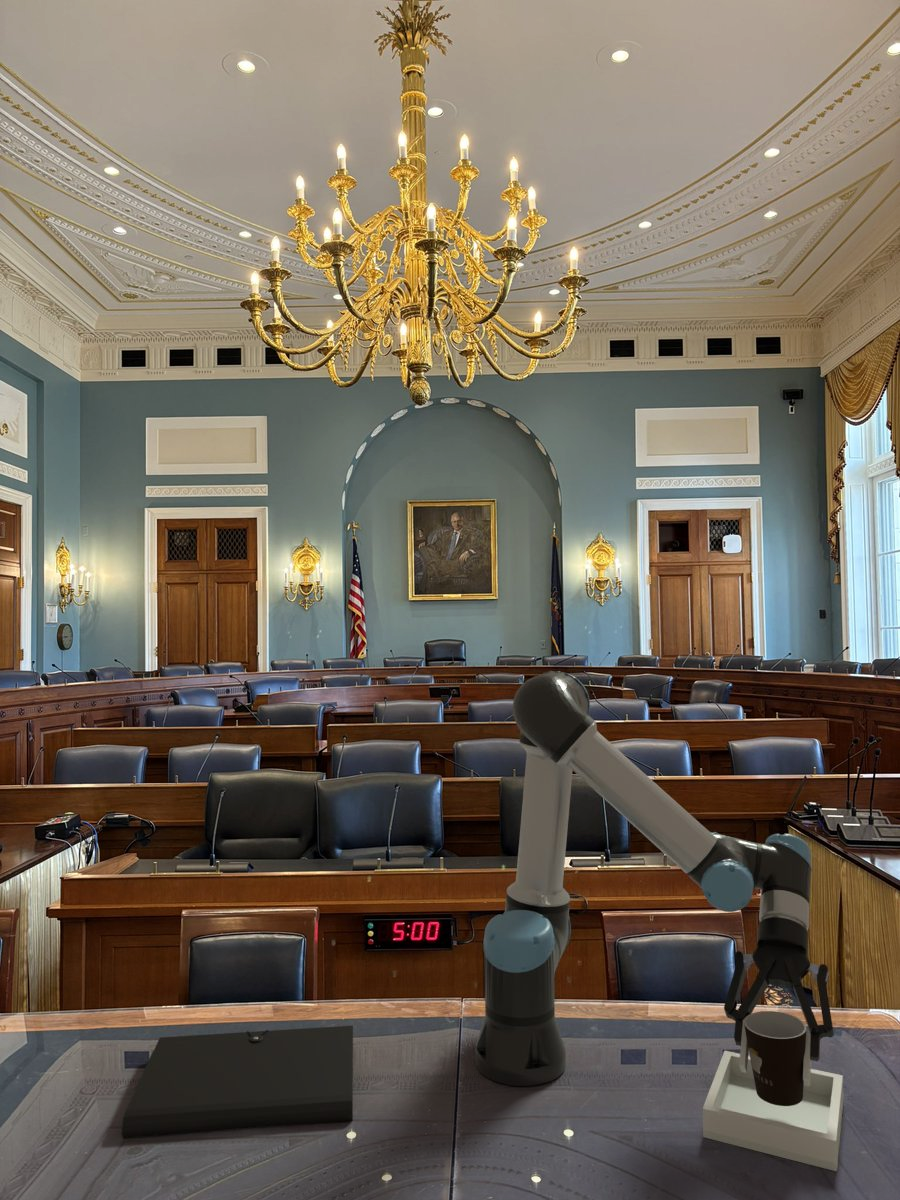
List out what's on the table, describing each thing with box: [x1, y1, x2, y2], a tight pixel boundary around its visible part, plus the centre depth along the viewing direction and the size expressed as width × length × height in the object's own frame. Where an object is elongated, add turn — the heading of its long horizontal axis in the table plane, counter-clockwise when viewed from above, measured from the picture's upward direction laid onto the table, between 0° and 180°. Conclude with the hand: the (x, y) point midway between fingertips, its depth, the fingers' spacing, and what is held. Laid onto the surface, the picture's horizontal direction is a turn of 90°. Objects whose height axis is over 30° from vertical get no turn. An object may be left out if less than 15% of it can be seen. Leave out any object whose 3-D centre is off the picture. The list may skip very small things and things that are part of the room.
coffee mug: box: [744, 1010, 808, 1106], centre depth 126 cm, size 12×9×10 cm
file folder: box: [121, 1025, 354, 1139], centre depth 137 cm, size 33×4×24 cm
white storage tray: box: [702, 1050, 844, 1172], centre depth 126 cm, size 17×18×4 cm
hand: (774, 1075), depth 123 cm, fingers closed on coffee mug, 8 cm apart
